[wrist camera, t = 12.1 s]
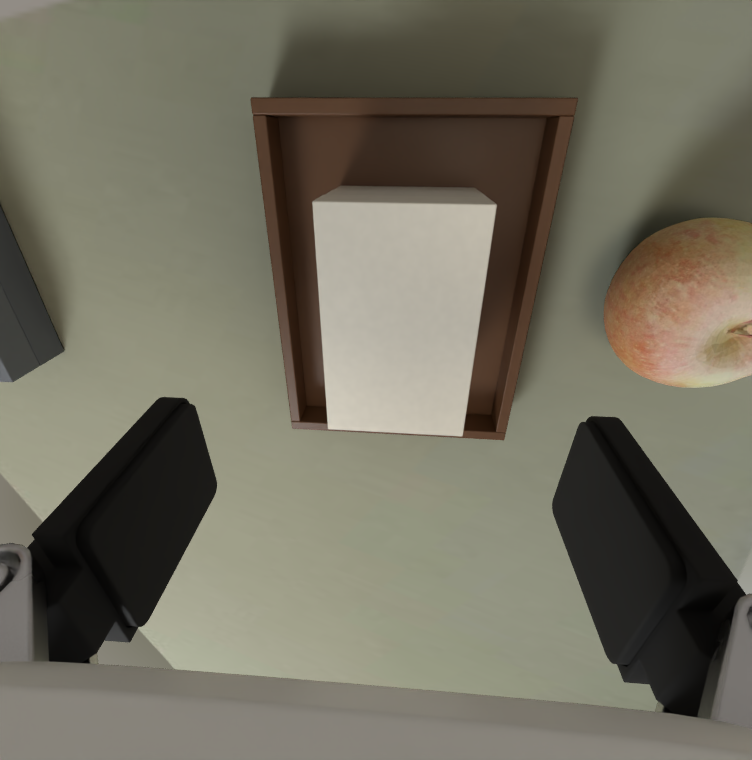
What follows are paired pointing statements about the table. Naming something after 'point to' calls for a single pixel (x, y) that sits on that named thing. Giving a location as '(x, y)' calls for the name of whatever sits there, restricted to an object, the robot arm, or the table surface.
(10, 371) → the grey book upper
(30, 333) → the grey book lower
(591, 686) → the table surface
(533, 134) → the book tray
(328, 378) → the white book
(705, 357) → the fruit
